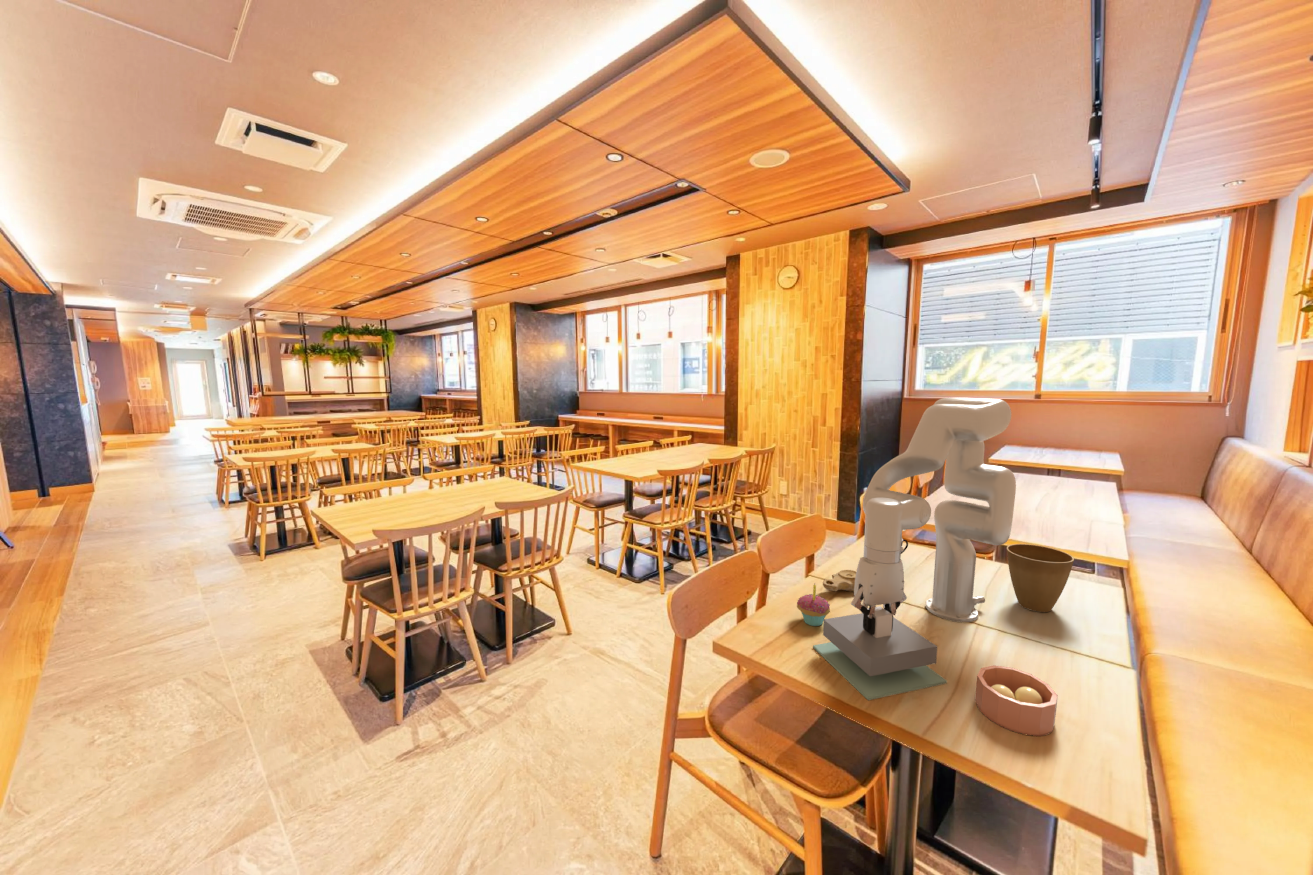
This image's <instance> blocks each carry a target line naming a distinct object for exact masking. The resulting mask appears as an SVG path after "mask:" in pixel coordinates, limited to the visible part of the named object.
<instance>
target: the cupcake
mask: <svg viewBox="0 0 1313 875" xmlns="http://www.w3.org/2000/svg"><path fill="white" fill-rule="evenodd" d="M816 591H817V585H816V583H814V584H813V588H812V593H809V594H805V595H802V596H801V597H799V598H798V599H797V602H796V609H798V610H799V611H800V612H801V615H802V617H803V618H802V619H803V622H804V623H805V624H806V625H809V626H813V627H818V626H822V625H823V624H824V619H826V616H828V615H829V613H831V607H830V605H831V604H830V602H829V601H828V600H827V599H825V598H824V597H822V596H820V595H817V593H816Z"/></svg>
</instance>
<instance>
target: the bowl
mask: <svg viewBox="0 0 1313 875" xmlns="http://www.w3.org/2000/svg"><path fill="white" fill-rule="evenodd" d="M974 696H975V697H974V698H975V699H974V701H975V703H976V707H977V708H978V710H979V712H981V714H982V715H983V716H985V717H986V718H987V719H988V720H989V721H991V722H992V723H993V724H996V725H998V726H999V727H1001V728H1003V729H1004V730H1008V731H1010V732H1013V731H1014V733H1016V732H1017V733H1016V734H1019V733H1022V734H1021V735H1023V734H1027V735H1026V736H1029V735H1033V736H1032V737H1044V736H1047V735H1049V734H1051V733H1052V732H1053V730H1054V727H1055V722H1056V717H1057V716H1056V715H1057V708H1058V700H1059V698H1058V697H1059V696H1058V693H1057V692H1055V690H1054V689H1053V688H1052V687H1051V686H1050V684H1049V683H1047V682H1045V681H1044V680H1042V679H1041V678H1039V677H1037V676H1036V675H1034V674H1032V673H1029V672H1026V671H1023V670H1020V669H1017V668H1014V667H1011V666H1002V665H995V664H994V665H989V666H984V667H981V668H980V669H979V671H978V673H977V675H976V687H975V695H974Z"/></svg>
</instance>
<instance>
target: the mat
mask: <svg viewBox="0 0 1313 875" xmlns="http://www.w3.org/2000/svg"><path fill="white" fill-rule="evenodd" d="M812 648H813V649H814V650H815V651H816V652H817V653H818V654H819V655H820V656H821V657H822V658H823V659H824V660H825V661H826V662H827V663H828V664H829V665H831V666H832V667H833V669H835V670H836V672H838V673H839V674H840V676H842V677H843V678H844V679H845V680H846V681H847V682H849V684H850V685H851V686H853V688H855V689H856V691H858V692H859V693H860V694H861V695H862V697H864V698H865V699H866V700H867V701H870V700H876V699H880V698H884V697H889V696H894V695H898V694H904V693H907V692H912V691H917V690H921V689H927V688H932V687H935V686H941V685H945V684H947V683H948V680H947V679H946V678H944V677H943V676H941V675H940V674H938V673H937V672H936V671H934V670H933V669H932V668H930V667H929V665H926V666H921V667H915V668H910V669H905V670H900V671H895V672H890V673H885V674H880V675H875V676H869V675H868V674H867V673H866V672H865V671H864V670H862V669H861V668H860V667H859V666H858V665H857V664H856V663H854V662H853V661H852V660H851V659H850V658H849V657H848V656H846V655H845V654H844V653H843V652H842V651H841V650H840V649H839V648H837V647H836V646H835V645H834V644H833V643H832V642H831V641H829V642H824V643H819V644H814V645H812Z"/></svg>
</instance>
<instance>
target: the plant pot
mask: <svg viewBox="0 0 1313 875" xmlns="http://www.w3.org/2000/svg"><path fill="white" fill-rule="evenodd" d="M1006 554H1007V564H1008V571H1009V575H1010V580H1011V584H1012V588H1013V590H1014V594H1015V597H1016V600H1017V603H1018V604H1019V605H1020V606H1021V607H1022V608H1024V609H1027V610H1030V611H1033V612H1037V613H1038V612H1039V613H1049V612H1051V611H1052V610H1053V609H1054V606H1056V604H1057V602H1058V600H1059V598H1060V597H1061V595H1062V593H1063V592H1064V589H1065V587H1066V585H1067V582H1068V580H1069V577H1070V575H1071V571H1072V569H1073V564H1074V561H1075V558H1074V556H1072V555H1071V554H1069V553H1067V552H1065V551H1062V550H1059V549H1056V548H1052V547H1049V546H1045V545H1044V546H1043V545H1036V544H1029V543H1028V544H1027V543H1013V544H1009V545H1008V546H1006Z"/></svg>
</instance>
